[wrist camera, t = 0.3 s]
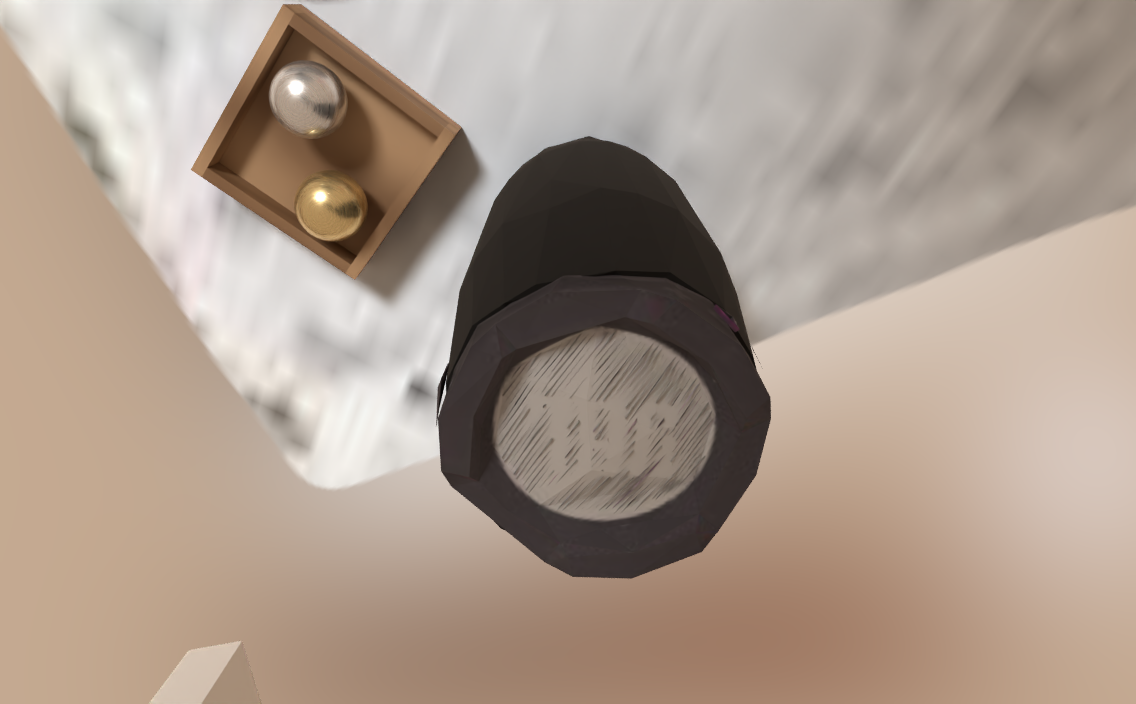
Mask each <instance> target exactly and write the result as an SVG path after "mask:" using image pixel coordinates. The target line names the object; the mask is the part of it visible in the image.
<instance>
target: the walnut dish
mask: <svg viewBox="0 0 1136 704" xmlns="http://www.w3.org/2000/svg"><path fill="white" fill-rule="evenodd" d="M299 60H309V61H314V62H318V63H320V64H322V65H324V66H326V67H328V68H329V69H331V70H332V71H333V72H334V73H335V74H336V75H337V76H338V78H339V79H340V80H341V82H342V84H343V85H344V88H345V90H346V94H347V99H348V109H347V114H346V116H345V119H344V121H343V123H342V124H341V126H340V127H339V128H338V129H337V130H336V131H335V132H333V133H332V134H330V135H328V136H326V137H323V138H318V139H307V138H302V137H299V136H296V135H294V134H292V133H290V132H289V131H287V130H286V129H285V128H284V127H283V126H282V125H281V124H280V123H279V122H278V121H277V119H276V118H275V116H274V114H273V112H272V110H271V107H270V102H269V89H270V85H271V82H272V79H273V77H274V76H275V74H276V73H277V72H278V71H279V70H280V69H281V68H282V67H283V66H285V65H287V64H289V63H291V62H294V61H299ZM460 129H461V126H459V125H458V124H457V123H456V122H454V121H453V120H452V119H450V118H449V117H448V116H446V115H445V114H444V113H442V112H441V111H440V110H439V109H437V108H436V107H435V106H433V105H432V104H431V103H429V102H428V101H427V100H425V99H424V98H423V97H422V96H420V95H419V94H418V93H416V92H415V91H414V90H412V89H411V88H410V87H409V86H407V85H406V84H405V83H403V82H402V81H401V80H399V79H398V78H397V77H395V76H394V75H393V74H392V73H390V72H389V71H388V70H386V69H385V68H384V67H382V66H381V65H380V64H379V63H377V62H376V61H375V60H373V59H372V58H371V57H369V56H368V55H367V54H365V53H364V52H363V51H362V50H360V49H359V48H358V47H356V46H355V45H354V44H352V43H351V42H350V41H349V40H347V39H346V38H345V37H343V36H342V35H341V34H339V33H338V32H337V31H335V30H334V29H333V28H332V27H330V26H329V25H328V24H326V23H325V22H324V21H322V20H321V19H320V18H318V17H317V16H316V15H315V14H313V13H312V12H311V11H309V10H308V9H307V8H305V7H304V6H303V5H302V4H283V5H282V7H281V9H280V11H279V13H278V14H277V16H276V18H275V20H274V22H273V23H272V25H271V27H270V29H269V31H268V32H267V34H266V36H265V38H264V40H263V41H262V43H261V45H260V47H259V48H258V50H257V52H256V54H255V56H254V57H253V59H252V61H251V63H250V65H249V66H248V68H247V70H246V72H245V74H244V75H243V77H242V79H241V81H240V83H239V84H238V86H237V88H236V90H235V92H234V93H233V95H232V97H231V99H230V100H229V102H228V104H227V106H226V108H225V109H224V111H223V113H222V115H221V117H220V118H219V120H218V122H217V124H216V126H215V127H214V129H213V131H212V133H211V135H210V136H209V138H208V140H207V142H206V144H205V145H204V147H203V149H202V151H201V152H200V154H199V156H198V158H197V160H196V161H195V163H194V165H193V167H192V169H191V170H192V171H194V172H195V173H197V174H198V175H200V176H201V177H203V178H204V179H205V180H207V181H208V182H210V183H211V184H213V185H214V186H216V187H217V188H219V189H220V190H222V191H223V192H225V193H226V194H228V195H229V196H231V197H232V198H234V199H235V200H237V201H238V202H240V203H241V204H243V205H244V206H246V207H247V208H249V209H250V210H252V211H253V212H255V213H256V214H258V215H259V216H261V217H262V218H264V219H265V220H267V221H268V222H270V223H271V224H273V225H274V226H275V227H277V228H278V229H280V230H281V231H283V232H284V233H286V234H287V235H289V236H290V237H292V238H293V239H295V240H296V241H298V242H299V243H301V244H302V245H304V246H305V247H307V248H308V249H310V250H311V251H313V252H314V253H316V254H317V255H319V256H320V257H322V258H323V259H325V260H326V261H328V262H329V263H331V264H332V265H334V266H335V267H337V268H338V269H340V270H341V271H342V272H344V273H345V274H347V275H348V276H350V277H351V278H353V279H354V280H355V279H356V278H357V276H358V275H359V274H360V272H361V271H362V270H363V268H364V267H365V266H366V265H367V263H368V262H369V260H370V259H371V257H372V256H373V254H374V253H375V252H376V250H377V249H378V247H379V246H380V244H381V243H382V241H383V240H384V239H385V237H386V236H387V234H388V233H389V231H390V230H391V228H392V227H393V226H394V224H395V223H396V221H397V220H398V218H399V217H400V215H401V214H402V213H403V211H404V210H405V208H406V207H407V205H408V204H409V203H410V201H411V200H412V198H413V197H414V195H415V194H416V192H417V191H418V190H419V188H420V187H421V185H422V184H423V182H424V181H425V179H426V178H427V177H428V175H429V174H430V172H431V171H432V169H433V168H434V166H435V165H436V164H437V162H438V161H439V159H440V158H441V156H442V155H443V153H444V152H445V151H446V149H447V148H448V146H449V145H450V143H451V142H452V140H453V139H454V138H455V136H456V135H457V133H458V132H459V130H460ZM322 170H336V171H340V172H343V173H345V174H347V175H349V176H350V177H352V178H353V179H354V180H356V181H357V182H358V183H359V185H360V186H361V187H362V189H363V191H364V193H365V195H366V198H367V203H368V212H367V217H366V220H365V222H364V224H363V226H362V227H361V229H360V230H359V231H358V232H357V233H356V234H354V235H353V236H352V237H350V238H348V239H345V240H342V241H334V242H333V241H325V240H321V239H318V238H316V237H314V236H312V235H311V234H309V233H308V232H307V231H306V230H305V229H304V228H303V227H302V226H301V224H300V223H299V221H298V219H297V216H296V214H295V209H294V198H295V194H296V191H297V189H298V187H299V185H300V184H301V183H302V181H303V180H304V179H305V178H307V177H308V176H309V175H311V174H313V173H315V172H318V171H322Z"/></svg>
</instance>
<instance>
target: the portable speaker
mask: <svg viewBox="0 0 1136 704" xmlns="http://www.w3.org/2000/svg"><path fill="white" fill-rule="evenodd" d="M753 351H754V350H753ZM447 372H448V373H447ZM446 377H447V380H446ZM445 381H446V396H445V399H444V402H443V405H442V408H441V411H440V414H439V417H438V413H439V407H440V403H441V398H442V394H443V390H444V385H445ZM770 407H771V404H770V396H769V394H768V392H767V390H766V388H765V386H764V384H763V382H762V380H761V378H760V376H759V374H758V372H757V370H756V366H755V362H754V358H753V354H752V350H751V346H750V343H749V339H748V335H747V331H746V327H745V324H744V320H743V316H742V312H741V309H740V305H739V301H738V297H737V294H736V291H735V288H734V286H733V283H732V281H731V278H730V275H729V273H728V270H727V268H726V265H725V262H724V260H723V257H722V255H721V253H720V251H719V250H718V248H717V246H716V245H715V243H714V242H713V240H712V238H711V237H710V235H709V234H708V232H707V230H706V229H705V227H704V226H703V224H702V223H701V221H700V219H699V218H698V216H697V215H696V213H695V211H694V210H693V208H692V207H691V205H690V204H689V202H688V200H687V199H686V197H685V196H684V194H683V192H682V191H681V189H680V188H679V186H678V184H677V183H676V181H675V180H674V179H672V178H671V177H670V176H669V175H667V174H666V173H665V172H664V171H663V170H661V169H660V168H659V167H658V166H656V165H655V164H654V163H653V162H652V161H650V160H649V159H648V158H647V157H645V156H643V155H642V154H640V153H638V152H636V151H634V150H632V149H630V148H628V147H626V146H623V145H620V144H616V143H613V142H609V141H602V140H599V139H596V138H593V137H590V136H588V137H584V138H581V139H577V140H574V141H571V142H567V143H564V144H560V145H556V146H552V147H548V148H546V149H544V150H543V151H542V152H540V153H539V154H538V155H536V156H535V157H533V158H532V159H531V160H529V161H528V162H526V163H525V164H523V165H522V166H521V167H520V168H519V169H518V170H517V172H516V173H515V174H514V175H513V176H512V177H511V178H510V179H509V180H508V182H507V183H506V185H505V186H504V187H503V189H502V190H501V192H500V193H499V195H498V196H497V197H496V199H495V200H494V203H493V206H492V208H491V211H490V213H489V216H488V218H487V221H486V223H485V226H484V228H483V231H482V234H481V236H480V239H479V241H478V244H477V247H476V249H475V252H474V255H473V257H472V260H471V262H470V265H469V268H468V270H467V273H466V275H465V278H464V281H463V283H462V286H461V289H460V292H459V299H458V306H457V313H456V319H455V326H454V333H453V339H452V346H451V353H450V359H449V363H448V364H447V366H446V369H445V371H444V373H443V376H442V378H441V381H440V383H439V386H438V397H437V419H438V426H439V442H440V459H441V471H442V473H443V474H444V476H445V477H446V479H447V480H448V482H449V483H450V485H451V486H452V487H453V488H454V489H455V490H457V491H458V492H459V493H460V494H461V495H463V496H464V497H466V499H468V500H469V501H470V502H471V503H473V504H474V505H475V506H476V507H478V508H479V509H480V510H481V511H482V512H484V513H485V514H486V515H487V516H489V517H490V518H491V519H492V520H494V522H495V523H496V524H497V525H498V526H499V527H500V528H501V529H503V530H506V531H507V532H508V533H510V534H511V535H513V537H514V538H516V539H517V540H518V541H519V542H521V543H522V544H523V545H524V546H526V547H527V548H528V549H529V550H530V551H532V552H533V553H534V554H535V555H537V556H538V557H539V558H540V559H542V560H543V561H544V562H546V563H547V564H550V565H551V566H553V567H555V568H557V569H559V570H561V571H563V572H565V573H567V574H569V575H571V576H572V577H601V578H634V577H637V576H639V575H642V574H645V573H647V572H650V571H652V570H655V569H658V568H660V567H663V566H665V565H668V564H671V563H674V562H676V561H679V560H682V559H684V558H687V557H689V556H692V555H694V554H697V553H700V552H702V551H703V549H704V548H705V547H706V546H707V544H708V543H709V542H710V541H711V539H712V538H713V537H714V536H715V534H716V533H717V532H718V531H719V529H720V528H721V526H722V525H723V523H724V522H725V520H726V519H727V517H728V516H729V514H730V513H731V512H732V510H733V509H734V507H735V506H736V504H737V503H738V501H739V500H740V498H741V497H742V495H743V494H744V492H745V491H746V489H747V488H748V486H749V485H750V483H751V482H752V480H753V479H754V478H755V476H756V474H757V469H758V466H759V462H760V458H761V454H762V450H763V447H764V443H765V439H766V435H767V431H768V428H769V424H770V420H771V408H770ZM436 426H437V421H436Z"/></svg>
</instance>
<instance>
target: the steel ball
mask: <svg viewBox="0 0 1136 704" xmlns="http://www.w3.org/2000/svg"><path fill="white" fill-rule="evenodd" d="M269 102H270V107H271V110H272V112H273V114H274V116H275V118H276V119H277V121H278V122H279V123H280V124H281V125H282V126H283V127H284V128H285V129H286V130H287V131H289V132H290V133H292V134H294V135H296V136H299V137H302V138H307V139H318V138H323V137H326V136H328V135H330V134H332V133H333V132H335V131H336V130H337V129H338V128H339V127H340V126H341V124H342V123H343V121H344V119H345V116H346V114H347V109H348V99H347V94H346V90H345V88H344V85H343V84H342V82H341V80H340V79H339V78H338V76H337V75H336V74H335V73H334V72H333V71H332V70H331V69H329V68H328V67H326V66H324V65H322V64H320V63H318V62H314V61H309V60H299V61H294V62H291V63H289V64H287V65H285V66H283V67H282V68H281V69H280V70H279V71H278V72H277V73H276V74H275V76H274V77H273V79H272V82H271V85H270V89H269Z"/></svg>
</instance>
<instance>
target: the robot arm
mask: <svg viewBox="0 0 1136 704" xmlns="http://www.w3.org/2000/svg"><path fill="white" fill-rule="evenodd" d="M149 704H261V701H260V698H259V694H258V691H257V688H256V684H255V681H254V678H253V674H252V671H251V668H250V665H249V661H248V658H247V655H246V652H245V648H244V645H243V642H242V641H238V642H232V643H227V644H221V645H215V646H210V647H205V648H199V649H193V650H189V651H188V652H187V653H186V655H185V656H184V657H183V659H182V660H181V661H180V663H179V664H178V666H177V667H176V668H175V669H174V671H173V672H172V673H171V675H170V676H169V677H168V679H167V680H166V681H165V683H164V684H163V685H162V687H161V688H160V689H159V691H158V692H157V693H156V695H155V696H154V697H153V699H152V700H151V701H150V703H149Z"/></svg>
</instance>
